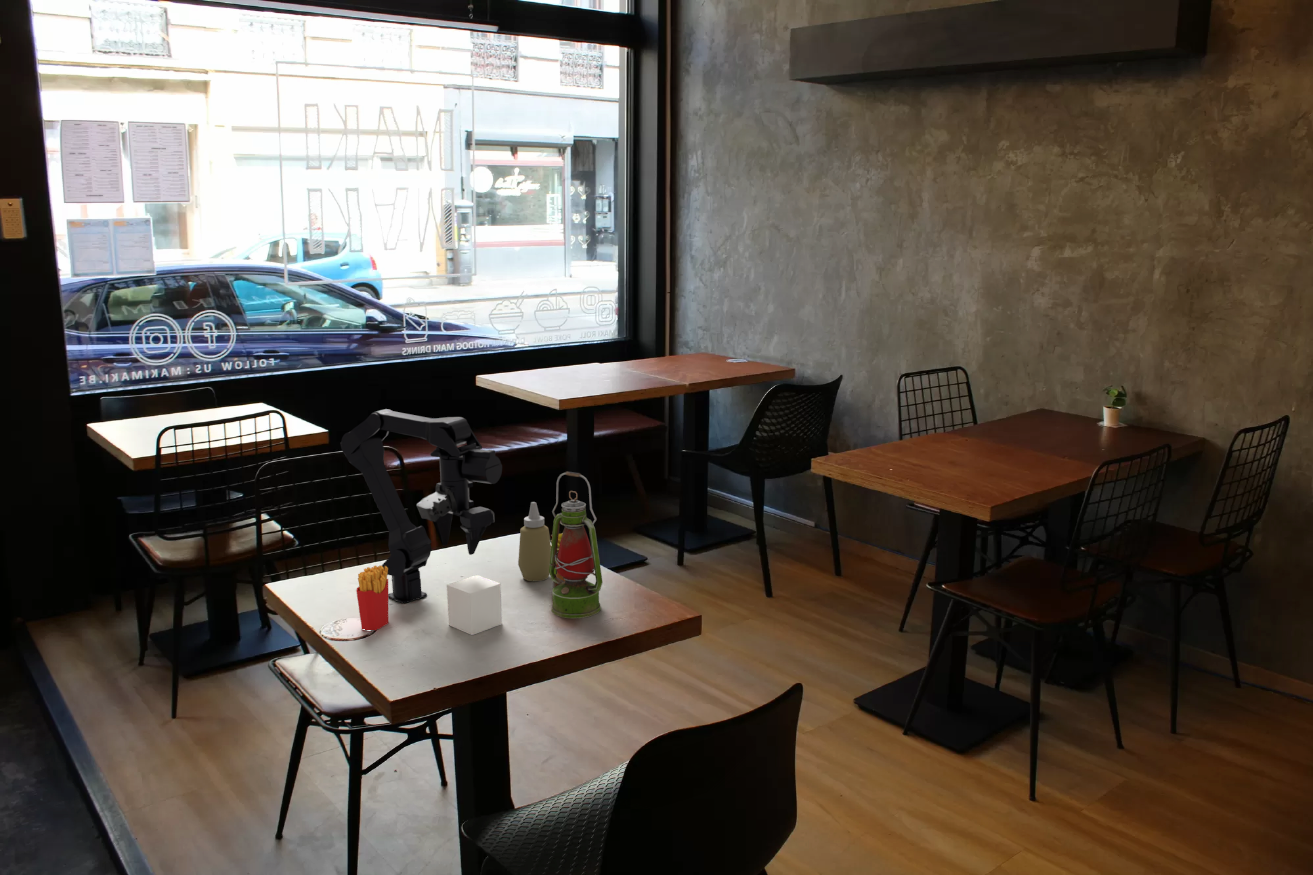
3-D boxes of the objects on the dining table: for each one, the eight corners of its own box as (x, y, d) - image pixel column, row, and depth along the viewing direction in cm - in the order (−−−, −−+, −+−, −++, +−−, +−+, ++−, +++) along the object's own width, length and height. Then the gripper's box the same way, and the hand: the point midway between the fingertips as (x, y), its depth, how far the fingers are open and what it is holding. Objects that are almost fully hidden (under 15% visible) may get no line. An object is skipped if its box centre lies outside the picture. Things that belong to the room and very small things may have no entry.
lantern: (534, 610, 224) (530, 473, 218) (564, 595, 233) (560, 463, 227) (588, 623, 217) (585, 482, 211) (617, 606, 226) (615, 471, 220)
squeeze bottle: (515, 573, 247) (512, 499, 243) (549, 570, 249) (547, 496, 245) (521, 585, 239) (519, 509, 235) (556, 581, 242) (554, 505, 238)
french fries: (371, 633, 213) (367, 577, 210) (354, 631, 214) (350, 574, 212) (396, 618, 221) (392, 564, 218) (380, 616, 222) (376, 561, 219)
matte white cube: (448, 625, 217) (446, 584, 215) (478, 614, 222) (476, 574, 221) (472, 635, 212) (470, 593, 210) (502, 624, 217) (500, 583, 215)
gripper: (395, 478, 221) (400, 549, 224) (450, 493, 208) (453, 569, 212) (439, 468, 229) (443, 537, 232) (494, 483, 216) (497, 555, 220)
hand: (457, 549), depth 224 cm, fingers open, 9 cm apart
